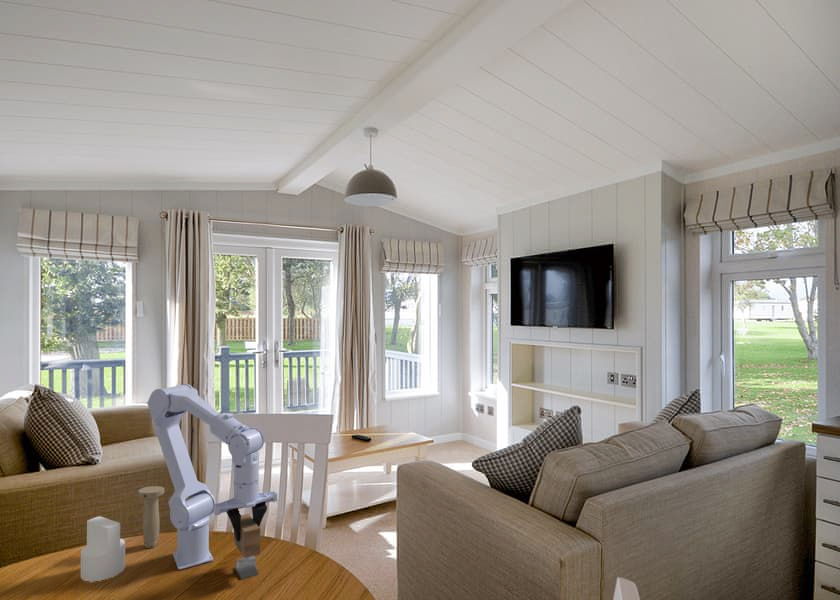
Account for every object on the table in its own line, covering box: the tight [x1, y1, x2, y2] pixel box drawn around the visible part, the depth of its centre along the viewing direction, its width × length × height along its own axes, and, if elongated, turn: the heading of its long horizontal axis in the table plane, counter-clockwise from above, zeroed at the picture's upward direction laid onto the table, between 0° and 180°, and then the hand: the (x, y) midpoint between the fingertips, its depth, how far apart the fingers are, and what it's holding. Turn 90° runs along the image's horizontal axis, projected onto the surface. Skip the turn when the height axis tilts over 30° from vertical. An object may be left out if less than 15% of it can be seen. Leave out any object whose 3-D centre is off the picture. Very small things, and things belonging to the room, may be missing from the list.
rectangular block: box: [233, 513, 261, 558], centre depth 119 cm, size 10×4×6 cm, turn 34°
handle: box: [137, 485, 165, 549], centre depth 132 cm, size 5×6×15 cm
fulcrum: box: [234, 555, 259, 580], centre depth 119 cm, size 6×4×3 cm, turn 34°
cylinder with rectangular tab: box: [80, 516, 126, 583], centre depth 119 cm, size 9×9×12 cm
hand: (246, 537), depth 119 cm, fingers closed on rectangular block, 3 cm apart
